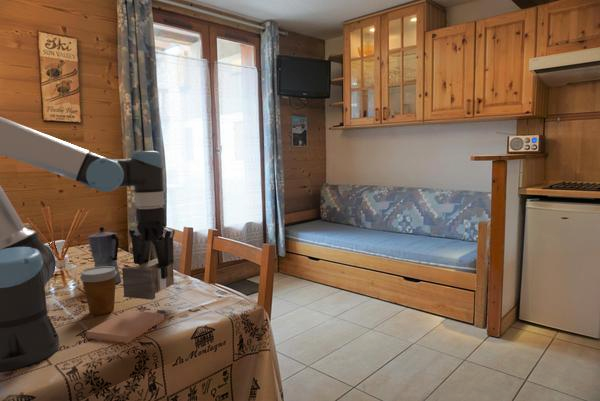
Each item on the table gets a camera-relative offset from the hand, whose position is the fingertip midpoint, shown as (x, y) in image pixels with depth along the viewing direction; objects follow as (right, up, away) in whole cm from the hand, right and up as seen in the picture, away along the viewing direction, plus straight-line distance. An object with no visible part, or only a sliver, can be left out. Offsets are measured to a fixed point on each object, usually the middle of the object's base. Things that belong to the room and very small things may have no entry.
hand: (155, 288), depth 114 cm
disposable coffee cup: (-16, -7, +2) cm, 17 cm away
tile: (-1, -6, -4) cm, 8 cm away
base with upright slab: (-55, -3, +44) cm, 71 cm away
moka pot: (-27, -4, +28) cm, 39 cm away
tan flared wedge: (0, 0, -1) cm, 1 cm away
